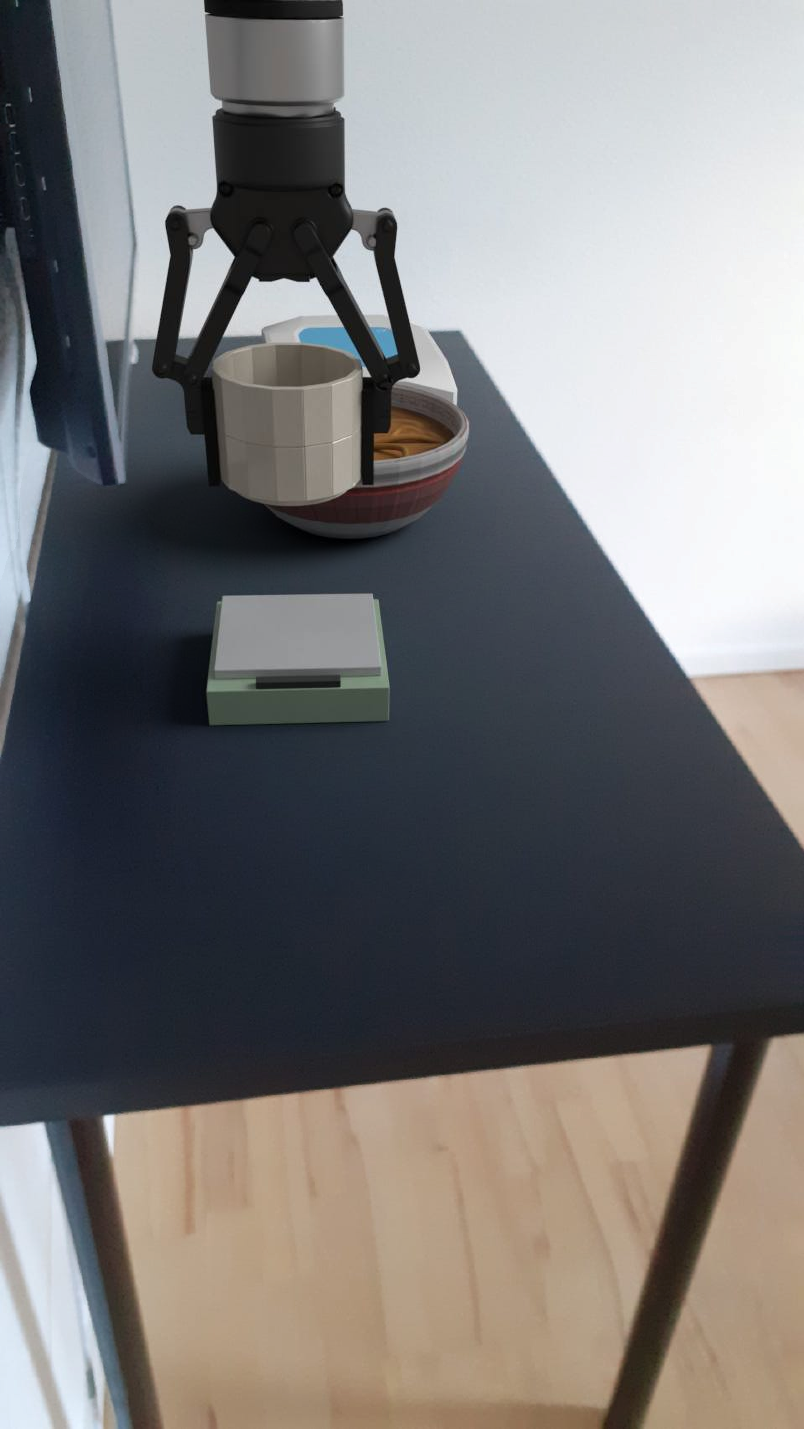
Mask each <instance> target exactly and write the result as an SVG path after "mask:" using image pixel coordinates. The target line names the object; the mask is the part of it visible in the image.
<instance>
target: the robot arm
mask: <svg viewBox="0 0 804 1429" xmlns="http://www.w3.org/2000/svg"><path fill="white" fill-rule="evenodd" d="M203 7H204V8H203V9H204V13H205V14H204V18H205V19H204V21H205V35H206V48H207V62H208V63H207V64H208V77H209V78H208V79H209V89H210V95H211V96H212V97H213V98H214V99H215V100H218V101H220V102H221V107H220V108H217V109H216V110H215V113H214V114H213V115H212V117H211V120H212V134H213V135H212V136H213V151H214V162H215V163H214V165H215V178H216V180H215V181H216V193H215V194H216V195H215V198H214V200H213V203H212V204H211V207H201V208H188V209H187V208H186V207H185V206H182V205H173V206H172V207H171V208H170V209H169V211H168V213H167V216H166V218H165V220H164V221H165V222H164V227H165V233H166V238H167V242H168V243H167V244H168V250H169V255H170V256H169V261H168V267H167V273H166V280H165V285H164V290H163V291H164V292H163V298H162V304H161V310H160V315H159V322H158V328H157V335H156V340H155V346H154V352H153V357H152V364H151V371H152V373H153V375H154V376H155V377H156V378H158V379H162V380H164V379H168V380H170V381H174V382H177V383H178V384H179V385H180V386H181V388H182V391H183V397H184V398H183V399H184V411H185V420H186V421H185V422H186V428H187V430H188V432H189V434H190V435H191V436H192V435H193V436H194V435H197V436H198V435H203V436H204V445H205V447H204V448H205V456H206V457H205V458H206V470H207V482H208V487H221V482H222V480H221V479H220V472H219V459H218V446H217V433H216V420H215V407H214V393H213V382H212V376H205V375H206V373H207V370H208V369H209V366H210V365H211V363H212V360H213V358H214V356H215V353H216V351H217V350H218V348H219V346H220V344H221V341H222V339H223V337H224V335H225V333H226V331H227V328H228V327H229V325H230V322H231V320H232V318H233V316H234V314H235V312H236V309H237V307H239V306H238V305H239V304H240V301H241V299H242V297H243V296H244V294H245V292H246V290H247V288H248V286H249V284H250V282H251V280H252V278H255V279H256V280H258V282H259V283H265V282H266V283H272V282H276V281H280V280H283V279H285V280H289V281H292V282H296V283H310V282H311V280H313V279H316V281H317V282H318V284H319V286H320V288H321V289H322V291H323V294H324V295H325V296H326V297H327V298H328V300H329V302H330V305H332V308H333V309H334V311H335V313H336V315H338V317H339V319H340V321H341V322H342V324H343V326H344V328H345V330H346V332H347V333H348V335H349V337H350V339H351V341H352V343H353V344H354V346H355V348H356V350H357V352H358V354H359V356H360V357H361V359H362V361H363V363H364V365H365V367H366V368H367V370H368V372H369V374H370V376H371V377H363V409H362V485H374V434H376V433H388V432H389V429H390V427H391V394H392V387H393V385H394V384H395V383H396V382H397V381H399V380H402V379H405V378H414V377H417V375H418V374H419V372H420V364H419V360H418V355H417V351H416V347H415V342H414V338H413V334H412V330H411V325H410V324H411V321H410V316H409V313H408V309H407V304H406V300H405V297H404V296H405V295H404V291H403V288H402V284H401V279H400V275H399V271H398V266H397V262H396V257H395V256H396V246H397V236H398V222H397V219H396V217H395V214H394V211H393V210H392V209H390V208H389V207H380V208H379V209H378V210H376V211H375V210H374V211H373V210H365V209H357V208H356V209H354V208H352V206H351V203H350V202H349V199H348V198H347V197H348V196H347V194H346V157H345V156H346V145H345V144H346V141H345V140H346V138H345V137H346V133H345V132H346V130H345V129H346V128H345V126H346V125H345V122H346V121H345V117H343V116H342V113H341V112H340V111H339V110H337V106H335V103H338V102H340V101H342V99H343V98H344V97H345V17H343V16H344V2H343V0H203ZM211 229H213V230H214V232H215V233H216V234H217V236H218V237H219V239H221V241H222V242H223V244H224V245H225V246H226V248H227V249H228V250H229V251H230V253H231V254H232V256H233V257H234V258H233V260H232V262H231V263H230V265H229V268H228V270H227V273H226V276H225V278H224V280H223V281H222V284H221V287H220V289H219V291H218V293H217V295H216V297H215V299H214V301H213V304H212V306H211V308H210V310H209V312H208V314H207V316H206V319H205V321H204V323H203V325H202V327H201V329H200V332H199V333H198V336H197V338H196V340H195V342H194V345H193V347H192V349H191V350H190V353H189V355H188V357H185V356H182V355H179V354H177V350H178V344H179V337H180V333H181V332H180V331H181V327H182V320H183V314H184V309H185V304H186V298H187V293H188V288H189V282H190V277H191V276H190V275H191V271H192V270H191V268H192V263H193V258H194V250H197V249H199V248H201V247H202V245H203V243H204V240H205V234H206V232H207V231H209V230H211ZM351 231H355V232H357V233H358V234H359V236H360V238H361V244H362V246H363V247H364V248H365V249H366V250H367V251H371V252H373V258H374V263H375V267H376V272H377V276H378V279H379V283H380V286H381V287H380V288H381V292H382V296H383V299H384V304H385V308H386V311H387V312H386V313H387V316H388V317H389V320H390V324H391V329H392V333H393V337H394V341H395V345H396V349H397V353H398V354H397V355H394V356H391V357H389V358H386V357H385V355H384V353H383V351H382V349H381V348H380V346H379V344H378V342H377V340H376V338H375V336H374V334H373V332H372V331H371V329H370V327H369V325H368V323H367V321H366V319H365V317H364V315H365V314H364V313H363V312H362V310H361V308H360V305H359V304H358V303H357V300H356V299H355V297H354V295H353V293H352V291H351V289H350V287H349V285H348V284H347V281H346V280H345V278H344V275H343V273H342V271H341V269H340V267H339V265H338V263H337V262H336V260H335V257H334V256H335V255H336V253H337V251H339V249H340V247H341V246H342V244H343V243H344V241H345V240H346V238H347V237H348V236H349V234H350V232H351Z"/></svg>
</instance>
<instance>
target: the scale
mask: <svg viewBox="0 0 804 1429" xmlns="http://www.w3.org/2000/svg"><path fill="white" fill-rule="evenodd" d="M380 610H381V609H380V602H379V599H378V598H374V594H373V593H319V594H318V593H317V594H314V593H311V594H309V593H308V594H247V595H246V594H245V595H222V596H221V601H217V602H216V607H215V613H214V614H215V615H214V624H213V632H212V638H211V639H212V640H211V648H210V656H209V665H208V675H207V681H206V689H205V693H206V703H207V714H208V715H207V716H208V725H209V726H237V725H238V726H241V725H242V726H243V725H244V726H245V725H277V724H278V725H279V724H280V725H281V724H283V725H284V724H321V723H322V724H323V723H324V724H325V723H326V724H327V723H361V722H362V723H364V722H365V723H366V722H389V720H390V694H391V693H390V689H391V688H390V687H391V686H390V680H389V671H388V664H387V657H386V648H385V641H384V634H383V633H384V632H383V624H382V617H381V611H380Z"/></svg>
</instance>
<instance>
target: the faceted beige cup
mask: <svg viewBox="0 0 804 1429" xmlns="http://www.w3.org/2000/svg"><path fill="white" fill-rule="evenodd" d="M211 377H212V382H213V393H214V407H215V420H216V433H217V446H218V459H219V472H220V479H221V482H222V483H223V484H224V485H225V486H226V487H227V488H228V489H229V490H230V491H233V492H235V493H237V495H240V497H243V498H245V499H247V500H249V501H252V502H254V503H259V504H263V505H264V504H269V505H278V506H303V505H311V504H317V503H322V502H326V501H329V500H332V499H334V498H337V497H339V496H341V495H342V494H344V493H345V492H346V491H347V490H349V489H351V488H353V487H354V486H355V485H356V484H357V483H358V482H359V480H360V479H361V478H362V409H363V368H362V362H361V360H360V359H359V358H357V357H356V356H354V355H353V354H351V353H350V352H347V351H344V350H341V349H337V348H334V347H330V346H326V345H318V344H310V343H284V342H275V343H266V344H262V343H258V344H250V345H245V346H242V347H238V348H234V349H231V350H227V351H225V352H224V353H222V354H221V355H219V356H217V357H215V358H214V359H213V361H212V366H211Z"/></svg>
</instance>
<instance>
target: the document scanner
mask: <svg viewBox="0 0 804 1429" xmlns="http://www.w3.org/2000/svg"><path fill="white" fill-rule="evenodd" d="M363 315H364V317H365V319H366V321H367V323H368V325H369V327H370V329H371V331H372V332H373V334H374V336H375V338H376V340H377V342H378V344H379V346H380V348H381V349H382V351H383V353H384V355H385V357H386V358H389V357H391V356H394V355H397V354H398V353H397V349H396V345H395V341H394V337H393V333H392V329H391V324H390V320H389V316H388V315H385V314H363ZM410 325H411V330H412V334H413V338H414V342H415V347H416V351H417V355H418V360H419V364H420V372H419V374H418V375H417V377H414V378H405V379H402V380H399V381H397V382H396V383H395V384H398V385H403V386H409V387H413V388H416V389H420V390H424V391H427V392H430V393H432V394H435V395H438V396H440V397H443V398H444V399H446V400H448V401H450V402H451V403H453V404H455V405H456V406H457V407H458V387H457V385H456V382H455V379H454V376H453V372H452V370H451V366H450V364H449V362H448V359H447V358H446V357H445V355H444V354H443V352H442V350H441V349H440V347H439V346H438V344H437V343H436V341H435V339H434V338H433V337H432V335H431V334H430V332H429V331H428V329H427V328H425V327H423V326H420V325H417V324H413V323H410ZM275 342H284V343H310V344H318V345H326V346H330V347H334V348H337V349H341V350H344V351H347V352H350V353H351V354H353V355H354V356H356V357H357V358H359V359H360V360H361V362H362V368H363V377H371V376H370V374H369V372H368V370H367V368H366V367H365V365H364V363H363V361H362V359H361V357H360V356H359V354H358V352H357V350H356V348H355V346H354V344H353V343H352V341H351V339H350V337H349V335H348V333H347V332H346V330H345V328H344V326H343V324H342V322H341V321H340V319H339V317H338V315H337V314H334V315H332V314H331V315H329V314H327V315H299V316H296V317H293V318H290V319H289V318H288V319H287V320H282V321H279V322H275V323H273V324H269V325H266V326H264V327H262V328H261V344H266V343H275Z"/></svg>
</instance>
